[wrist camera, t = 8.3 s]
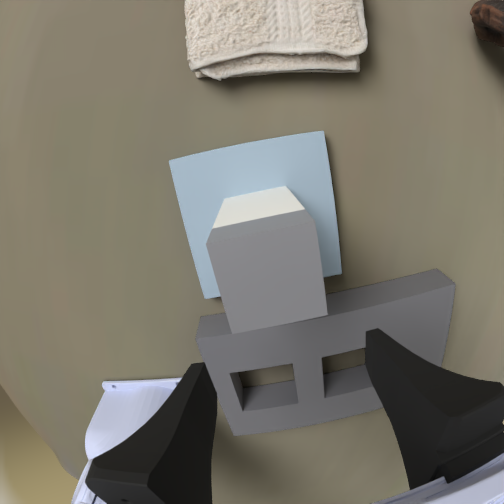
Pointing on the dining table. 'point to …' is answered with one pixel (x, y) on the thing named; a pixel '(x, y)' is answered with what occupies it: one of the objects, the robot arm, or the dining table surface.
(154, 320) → the dining table surface
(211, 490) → the robot arm
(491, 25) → the broken clay pot
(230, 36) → the washcloth
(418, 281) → the gray socket board
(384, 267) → the dining table surface
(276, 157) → the pad
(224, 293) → the plug
